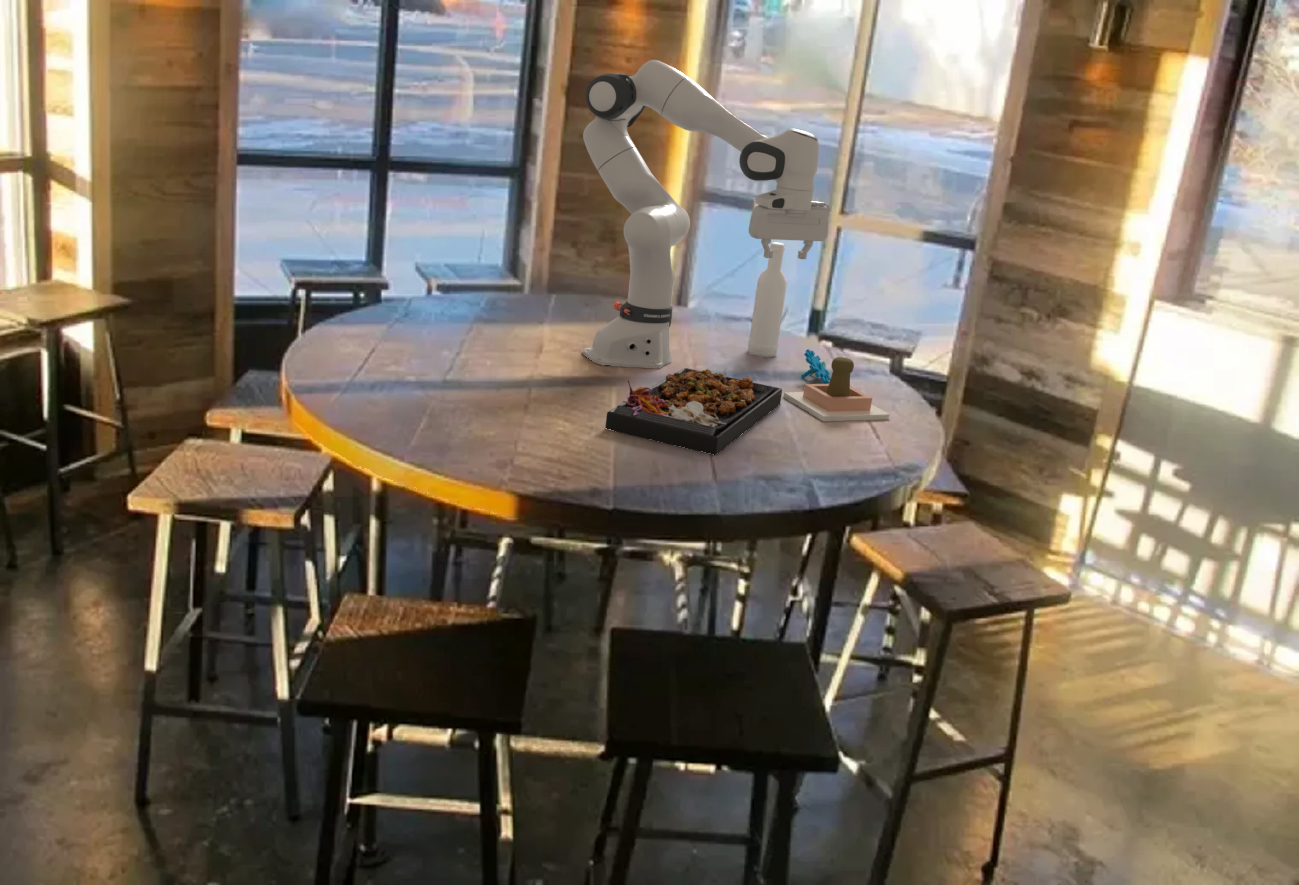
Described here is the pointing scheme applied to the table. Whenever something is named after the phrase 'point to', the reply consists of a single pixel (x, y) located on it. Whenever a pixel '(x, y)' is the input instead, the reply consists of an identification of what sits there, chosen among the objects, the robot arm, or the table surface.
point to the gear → (816, 367)
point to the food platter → (694, 410)
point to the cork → (840, 377)
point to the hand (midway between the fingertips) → (784, 258)
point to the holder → (835, 404)
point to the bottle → (768, 306)
